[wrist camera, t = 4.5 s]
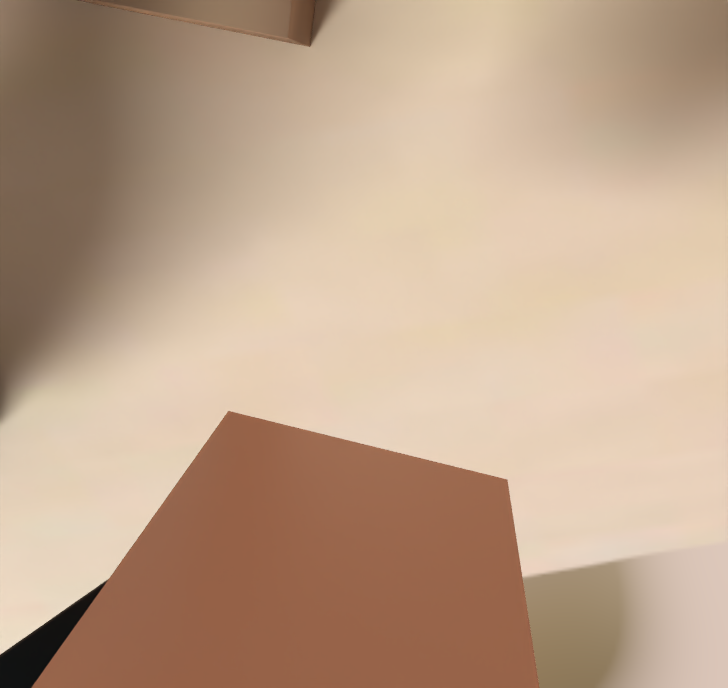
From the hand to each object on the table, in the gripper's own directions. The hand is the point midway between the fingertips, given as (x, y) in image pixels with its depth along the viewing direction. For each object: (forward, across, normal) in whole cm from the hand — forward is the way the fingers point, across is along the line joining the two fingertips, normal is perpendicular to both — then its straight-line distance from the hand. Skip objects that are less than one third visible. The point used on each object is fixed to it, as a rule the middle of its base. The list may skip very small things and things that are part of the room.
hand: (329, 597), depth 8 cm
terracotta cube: (+1, 0, 0) cm, 1 cm away
